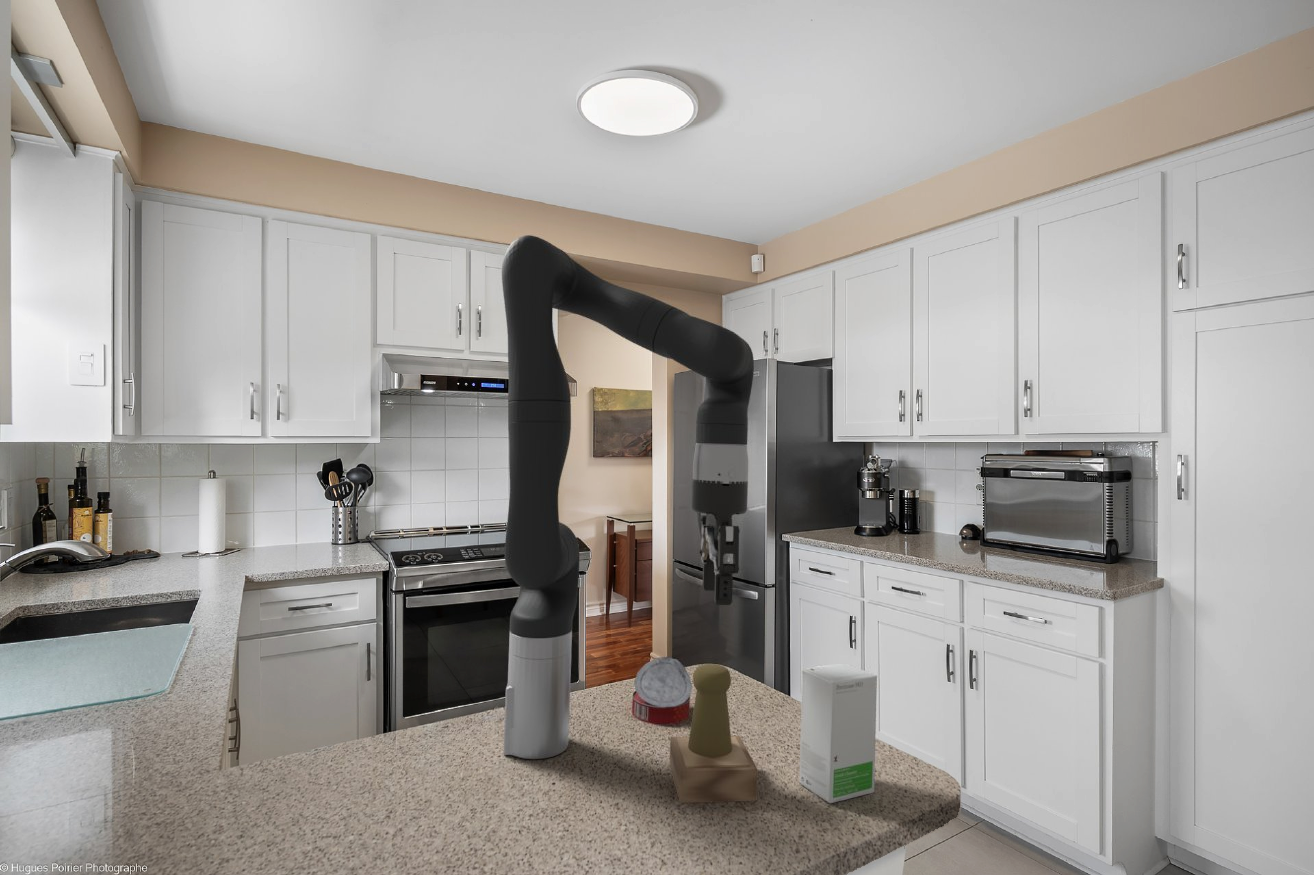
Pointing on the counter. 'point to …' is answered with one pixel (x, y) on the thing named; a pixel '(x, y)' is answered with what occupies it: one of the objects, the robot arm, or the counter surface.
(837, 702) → the skincare box
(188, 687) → the counter surface
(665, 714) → the canned food
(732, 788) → the base
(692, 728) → the olive knobbed peg
